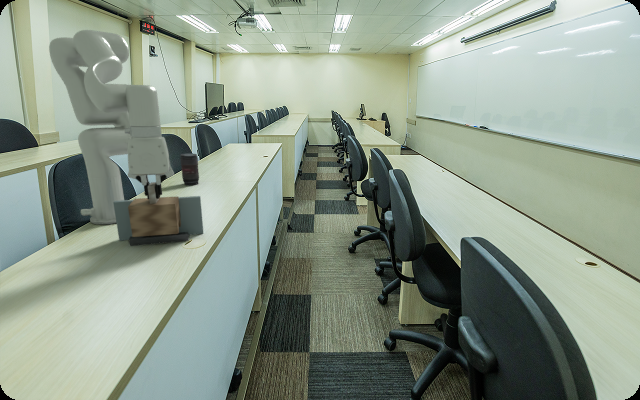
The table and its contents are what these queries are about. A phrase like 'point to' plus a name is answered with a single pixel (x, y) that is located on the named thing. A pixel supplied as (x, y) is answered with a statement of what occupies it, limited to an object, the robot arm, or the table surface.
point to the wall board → (188, 215)
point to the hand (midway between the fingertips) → (154, 197)
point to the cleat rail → (159, 239)
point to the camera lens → (189, 169)
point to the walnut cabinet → (154, 215)
